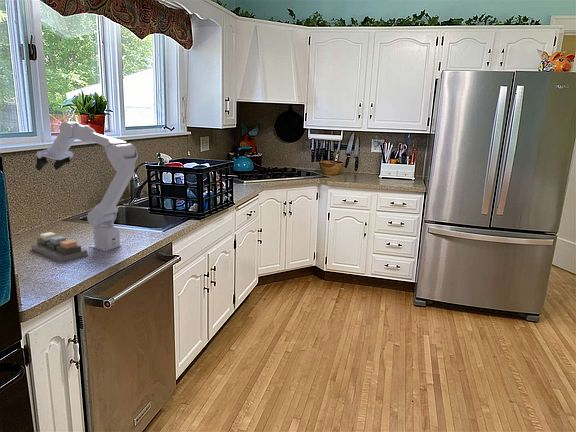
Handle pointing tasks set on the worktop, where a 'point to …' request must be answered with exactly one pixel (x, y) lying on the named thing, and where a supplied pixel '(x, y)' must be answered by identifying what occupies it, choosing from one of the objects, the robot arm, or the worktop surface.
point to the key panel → (58, 251)
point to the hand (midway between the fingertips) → (46, 168)
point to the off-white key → (47, 236)
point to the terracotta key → (68, 244)
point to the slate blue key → (57, 240)
